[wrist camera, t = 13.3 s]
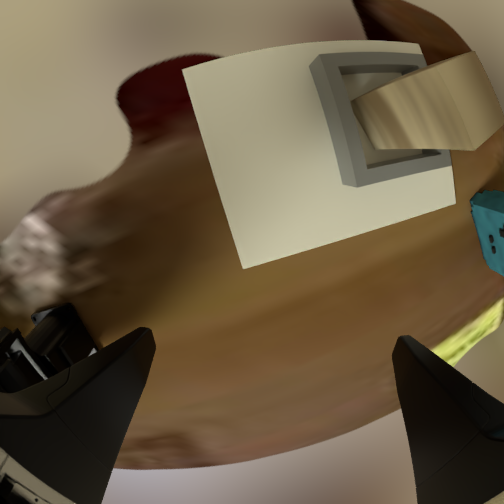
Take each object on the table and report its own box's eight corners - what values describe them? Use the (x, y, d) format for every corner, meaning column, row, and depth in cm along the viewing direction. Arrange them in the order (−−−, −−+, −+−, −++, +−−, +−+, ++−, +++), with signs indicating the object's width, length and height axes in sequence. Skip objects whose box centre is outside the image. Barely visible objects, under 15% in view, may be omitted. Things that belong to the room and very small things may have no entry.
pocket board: (242, 266, 20) (244, 283, 17) (183, 72, 16) (175, 57, 13) (451, 202, 20) (473, 208, 17) (414, 45, 15) (434, 36, 12)
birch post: (374, 149, 18) (474, 150, 8) (346, 102, 17) (436, 66, 7) (408, 127, 17) (506, 122, 8) (383, 83, 16) (474, 50, 7)
